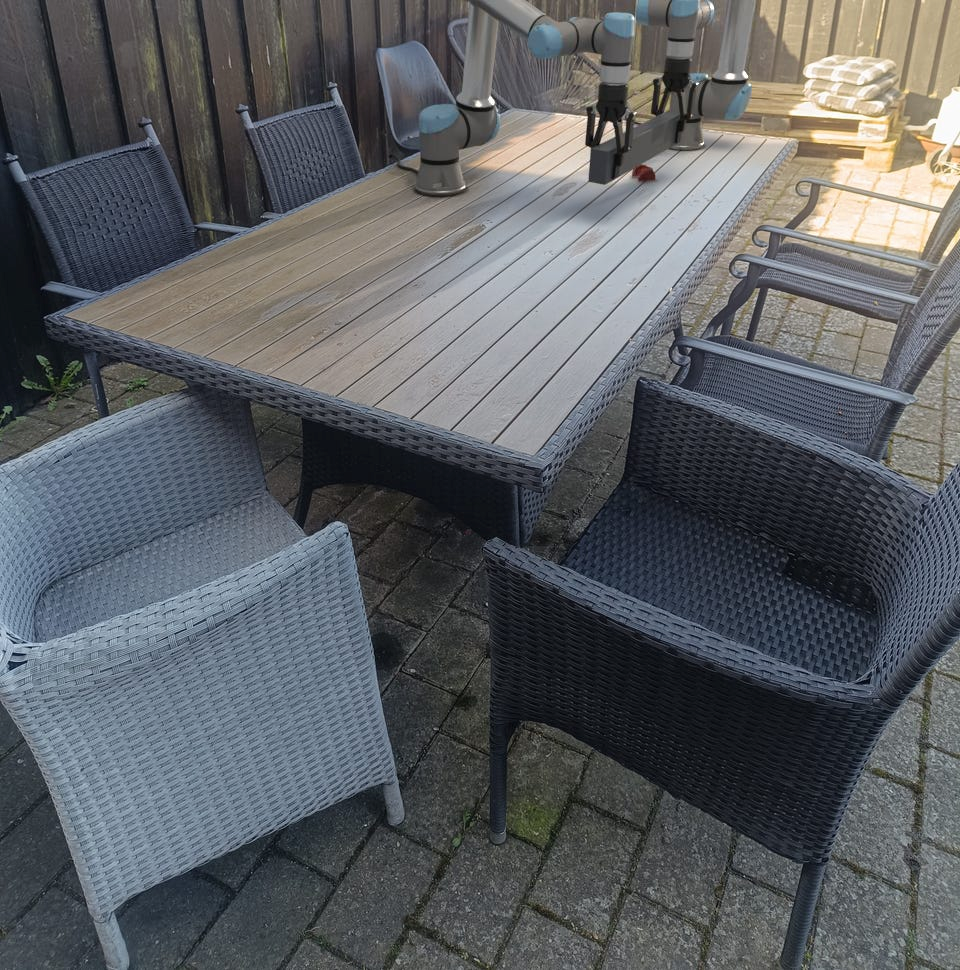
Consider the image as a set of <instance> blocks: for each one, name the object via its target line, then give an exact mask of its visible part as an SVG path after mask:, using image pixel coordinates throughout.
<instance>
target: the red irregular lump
mask: <svg viewBox="0 0 960 970" xmlns="http://www.w3.org/2000/svg"><path fill="white" fill-rule="evenodd" d="M631 171H632V172H631V177H637V181H638V182H649V181H655V180H656V173H655V171H654V169H653V167H651V166H648V165H647V164H644V163H643V164H641V165H639V166H637V167H636V168H634V169H632V170H631Z"/></svg>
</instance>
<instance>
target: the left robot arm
mask: <svg viewBox="0 0 960 970" xmlns="http://www.w3.org/2000/svg"><path fill="white" fill-rule="evenodd" d="M462 1H463V2H465V3H468V2H469V6H468V7H469V8H468V20H467V31H466V41H465V53H464V65H463V75H462V85H461V86H462V87H461V88H462V89H461V92H460V93H458V95H456V98H455V104H453V103H452V104H451V103H441V104H434V105H433V104H432V105H430V106H427V107H425V108H424V109H422V110H421V111H420V112H419V116H418V134H419V135H418V136H419V157H420V158H419V159H420V161H419V162H420V164H419V168H418V169H416V168H414V167H410V166H406V165H402V164H401V159H400V158H399V156H397V154H395V153H393V152H392V153H389V155H388V159H392V158H394V159H395V160H396V166H397V168H399V169H401V170H406V171H410V172H412V173H415V174H416V175H417V176H416V180H415V185H414V186H415V192H417V193H418V194H420V195H424V196H430V197H450V196H455V195H459V194H461V193H463V192H464V191H466V181H465V179H464V176H463V172H462V169H461V165H460V151H461V150H465V149H470V148H473V147H481V146H484V145H486V144H488V143H491V142H492V141H493V140H494V139H496V137H497V135H499V131H500V127H501V115H500V114H499V112H500V111H499V109H498V107H497V106H496V105H495V103H496V100H495V99H494V98H493V96H492V95H491V93H492V84H493V77H494V76H493V75H494V67H495V58H496V49H497V39H498V31H499V30H498V29H499V23H500V24H502V25H503V26H505V27H506V28H507V29H509V30H510V31H511V32H513V33H514V34H515V35H517V36H518V37H520V38H521V39H523V40H524V41H525V42H526V43H527V45H528V49H529V51H530V52H531V55H532V56H533V57H534V58H536V59H538V60H552V59H555V58H561V57H566V56H572V55H577V54H583V53H589V54H597V55H600V69H599V82H600V83H599V84H598V92H597V93H598V94H597V102H596V104H591V105H589V106H587V107H586V109H585V110H586V115H587V120H586V130H585V139H584V140H585V142H584V145H585V147H588V148H590V149H591V148H593V147H595V146H598V145H600V144H601V141H602V138H603V136H604V132H605V129H606V126H607V124H608V123H612V127H613V130H614V137H615V138H616V146H617V153H615V154H614V163H613V174H612V179H614V180H613V181H615V180H616V179H618V178H620V177H619V170H620V166H622V165H623V161H624V153H627V152H629V151H630V150H632V141H633V130H634V127H635V124H634V121H635V120H636V118H637V116H638V111H637V110H631V109H630V108H629V106H628V97H629V96H628V95H629V86H630V85H629V84H628V83H629V82H630V78H631V77H630V76H631V74H630V73H631V64H632V52H633V45H634V39H635V21H636V18H635V16H634V15H633V14H632V13H629V12H621V11H620V12H617V11H616V12H615V11H614V12H608V13H605V15H604V19H603V20H601V19H595V18H588V17H586V16H580V17H579V16H573V17H570V18H569V19H568V20H565V21H556V20H554V19H552V18H551V17H550V16H548V15H547V14H546V13H544V12H543V11H542V10H540V9H538V8H537V7H536V6H534V5H533V4H531V3H530V2H529V1H527V0H462ZM597 113H598V114H599V118H598V122H597V127H596V117H597V115H596V114H597ZM625 115H626V118H627V121H626V120H625V121H626V122H625V131H624V128H623V123H624V122H623V117H625ZM595 128H596V130H595ZM624 132H625V143H624V135H623V133H624Z"/></svg>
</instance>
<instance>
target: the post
mask: <svg viewBox="0 0 960 970" xmlns="http://www.w3.org/2000/svg"><path fill="white" fill-rule="evenodd" d="M679 119H680V111H679V110H674V109H670V110H669V109H668V110H667V111H664V113H662V114H660V115H658V116H654V117H652V118H650V119H648V120H646V121H644V122H641V123H642V124H640V125H638V124H637V125H636V126H634V130H633V141H632V150H630V151H629V152H627V153H624V161H623V165H622V166H620V170H619V177H618V178H620V177H621V176H623V175H625V174H627V173H629V172H630V171H633V169H634V168H636V167H637V166H639V165H641V164H644V163H646V162H648V161H649V160H651V159H653V158H655V157H656V156H658V155H660V154H662V153H664V152H665V151H667V150H670V149H669V148H671V147H672V146H674V145H676V144H675V137H676V129H677V121H678V120H679ZM683 133H684V131H683V132H682V133H681V140H680V142H681V141H683ZM623 135H624V143H625V131H623ZM677 144H678V143H677ZM615 153H617V146H616V138H615V136H614V137H612V138H610V139H608V140H605V141H604V142H602V143H600V145H598V146H595V147H593V148H590V153H589V168H588V179H587V180H588V183H593V184H596V185H597V184H598V185H603V186H605V185H606V186H607V184H610V183H612V182H613V181H615V180H614V179H612V174H613V163H614V154H615Z"/></svg>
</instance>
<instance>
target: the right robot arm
mask: <svg viewBox="0 0 960 970" xmlns="http://www.w3.org/2000/svg"><path fill="white" fill-rule="evenodd" d="M726 3H727V4H726V10H725V17H724V23H723V31H722V38H721V44H720V51H719V59H718V65H717V69H716V71H714V73H713V74H712V75H711V79H709V75H708V73H704V72H695V73H691V69H692V63H693V62H692V61H693V58H692V56H693V54H694V46H695V41H696V40H695V38H696V31H697V30H701V29H704V28H706V27H707V26H708V25H709V24H710V23H711V22H712V21H713V18H714V16H715V7H714V4H713V2H711V0H637V2H636V6H635V10H634V14H635V16H634V17H635V21H636V23H637V24H638V25H640V26H641V25H642V26H647V27H661V28H668V36H667V43H666V50H665V55H666V57H665V61H664V70H663V74H662V76H659V77H656V78H654V79H652V83H653V93H652V102H651V107H650V108H651V109H650V115H653V116H654V117H656V116H658V115H660V114H662V113H664V112H665V110H666V107H667V105H668V101H669V108H668V110H670V109H674V110H679V111H680V119H679V120H678V121H677V129H676V137H675V144H676V145H674V146H672V147H671V148H669V149H668V150H676V151H695V150H699V149H702V148H703V147H704V143H705V142H704V141H705V140H704V132H703V126H702V121H703V118H702V117H705V118H713V119H721V120H724V121H727V120H729V121H736V120H737V121H738V120H739V119H740V118H741V117H743V115H744V113H745V112H746V110H747V108H748V105H749V103H750V100H751V96H752V91H753V90H752V89H753V86H752V84H751V83H749V82H748V79H749V76H748V74H747V73H746V72H745V68H746V61H747V56H748V55H747V54H748V48H749V42H750V36H751V31H752V24H753V18H754V12H755V5H756V0H727V2H726ZM662 84H663V85H664V87H665V89H664V91H663V95H662V98H661V101H660V96H661V89H662ZM624 120H625V121H627V118H626V114H624ZM642 123H643V122H639V121H635V120H634V125H637V126H638V125H640V124H642ZM683 131H684V133H683V141H681V142H680V140H681V133H682V132H683ZM677 143H678V144H677Z"/></svg>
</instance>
